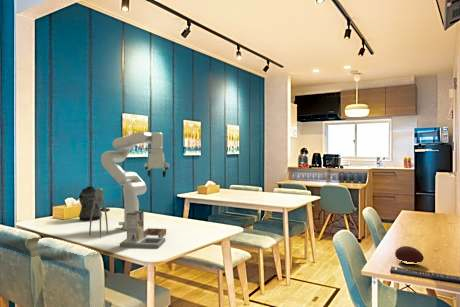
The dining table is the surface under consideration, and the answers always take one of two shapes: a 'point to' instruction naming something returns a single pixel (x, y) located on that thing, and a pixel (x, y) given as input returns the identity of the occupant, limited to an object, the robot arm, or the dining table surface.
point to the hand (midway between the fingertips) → (156, 176)
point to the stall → (155, 232)
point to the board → (144, 243)
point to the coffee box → (135, 226)
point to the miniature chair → (99, 200)
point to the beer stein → (88, 205)
